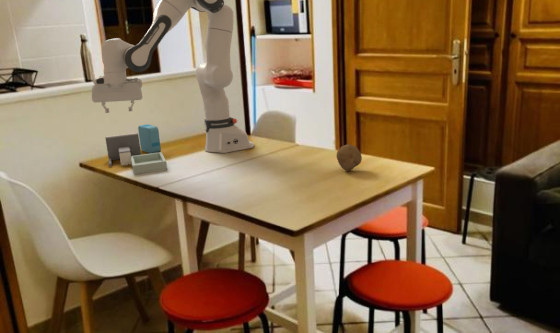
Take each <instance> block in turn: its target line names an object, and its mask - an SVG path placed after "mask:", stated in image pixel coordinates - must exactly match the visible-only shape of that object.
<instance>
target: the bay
mask: <svg viewBox="0 0 560 333" xmlns="http://www.w3.org/2000/svg"><path fill="white" fill-rule="evenodd" d="M105 144H106V150H107V158H108V166H109V168H112V167H113V164H112V161H114V160H115V161H116V160H120V155H119V149H118V148H120V147H128V146H129V148H130V153H131V156H137V155H142V152H141V151H142V149H141V145H140V138H139V132H132V133H125V134H115V135H107V136H105ZM111 166H112V167H111Z"/></svg>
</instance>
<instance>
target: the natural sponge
mask: <svg viewBox="0 0 560 333" xmlns="http://www.w3.org/2000/svg"><path fill="white" fill-rule="evenodd" d="M336 159H337V162H338V165H339V166H340V168H342V169H343V170H344V171H345V172H351V171H352V170H353V169H354V168H355V167H358V166H359V165H360V164H361V163H362V160H363V158H362V154H361V151H360V150H359V149H358V147H357V146H355V145H353V144H345V145H342V146H341V147H339V149H338V150H337V152H336Z"/></svg>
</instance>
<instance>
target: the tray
mask: <svg viewBox="0 0 560 333" xmlns="http://www.w3.org/2000/svg"><path fill="white" fill-rule="evenodd" d="M130 157H131V164H130V165H131V167H132V170H133V171H132V172H133V174H134V175H139V174H145V173H152V172H159V171H166V170H167V171H168V166H167V165H168V164H167V160H166V158H165V156H164V154H163V152H161V151H160V152H157V153H152V154H151V153H146V154H141V155H137V156H130Z"/></svg>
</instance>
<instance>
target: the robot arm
mask: <svg viewBox="0 0 560 333" xmlns="http://www.w3.org/2000/svg"><path fill="white" fill-rule="evenodd" d="M190 9H192V10H195V11H197V12H201V13H205V12H206V14H207V17H208V23H207V28H206V29H207V30H206V33H205V42H204V49H205V52H206V53H205V54H206V62H203V63H200V64H199V65H198V66H197V68H196V69H195V73H194V75H195V78H196V80H197V82H198V86H199V90H200V95H201V97H202V102H203V103H202V104H203V112H204V130H205V132H206V134H205V147H204V151H205V152H208V153H219V154H226V153H231V152H236V151H241V150H242V151H243V150H248V149H252V148H254V147H255V145H254V142H252V141H251V140H249V136H248V134H247V132H246V131H245V130H243V129H242V128H240V127H239V126H237V125H236V124H237V123H238V120H237V118H233V117H231V116H230V114H231V113H230V105H229V99H228V97H227V94H226V91H225V88H227V87H228V86H230V85H231V84H232V83H233V82H232V81H233V79H234V78H233V77H234V75H233V71H232V67H231V45H232V40H233V38H232V37H233V33H234V32H233V31H234V11H233V9H232V8H231V6H229V5H227V4H225V1H224V0H159V2H158V3H157V5H156V7H155V9H154V11H153V14H152V15H153V16H152V23H151V25H150V28H149V29H148V30H147V32H146V33H145V34H144V36H142V39H141V40H140V41H139V43H137V44H136V45H134V44H130V43H129V42H127V41H124V40H122V39H121V38H120V37H118V38H117V37H116V38H115V37H114V38H111V39H107V40H104V42H102V44H101V60H102V64H103V75H100V76H98V77H96V78H94V79H93V84H94V85H93V86H92V87H91V100H92V102H93V103H94V104H96V103H101V106H102V108H104V111H105V113H106V114H107V113H110V108H109V107H107V106H106V103H109V102H111V103H112V102H125V101H126V102H128V101H129V102H130V104H131V105H130V106H128V112H133V107H134V104H135V101H141V100H143V92H142V87H143V83H142V80H141V79H140V78H138V77H127V69H129V70H131V71H132V72H135V73H141V72H144V71H146V70H147V69H148V68H149V67H150V65H151V63H152V57H153V54H154V51H155V50H156V49H157V47H158V46H159V45H160V44H161V42H162V40H163V39H164V38H165V36H166V35H167V34H168V33H169V32H170V31H171V30H173V29H174V28H175V27H176V25H178V24H179V23H180V21H181V20H182V19H183V18H184V17H185V14H186V13H187V12H188V10H189V11H190Z"/></svg>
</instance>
